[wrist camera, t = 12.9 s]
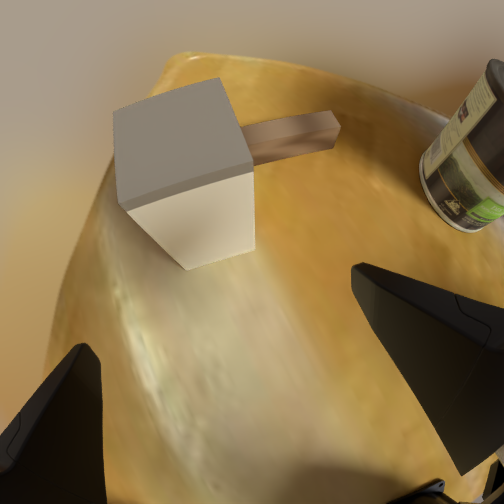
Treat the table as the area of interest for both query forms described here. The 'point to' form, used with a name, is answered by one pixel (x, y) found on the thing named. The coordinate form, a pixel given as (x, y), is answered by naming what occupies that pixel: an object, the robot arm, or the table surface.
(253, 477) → the table surface
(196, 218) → the carton
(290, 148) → the brown wooden bar
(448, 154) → the coffee can
